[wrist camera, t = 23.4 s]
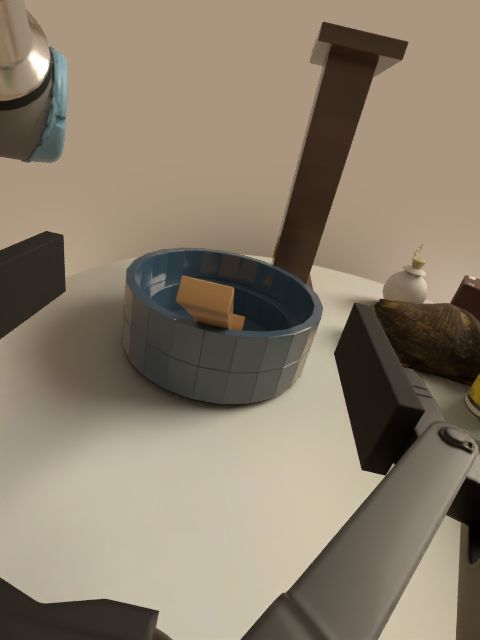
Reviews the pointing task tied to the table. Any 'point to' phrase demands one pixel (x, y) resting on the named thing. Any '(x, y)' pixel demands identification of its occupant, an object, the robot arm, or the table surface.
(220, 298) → the wooden mallet
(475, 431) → the table surface
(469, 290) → the box
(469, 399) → the supplement bottle
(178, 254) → the bowl
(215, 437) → the table surface
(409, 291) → the potion bottle
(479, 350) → the seashell
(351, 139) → the spoon stand
